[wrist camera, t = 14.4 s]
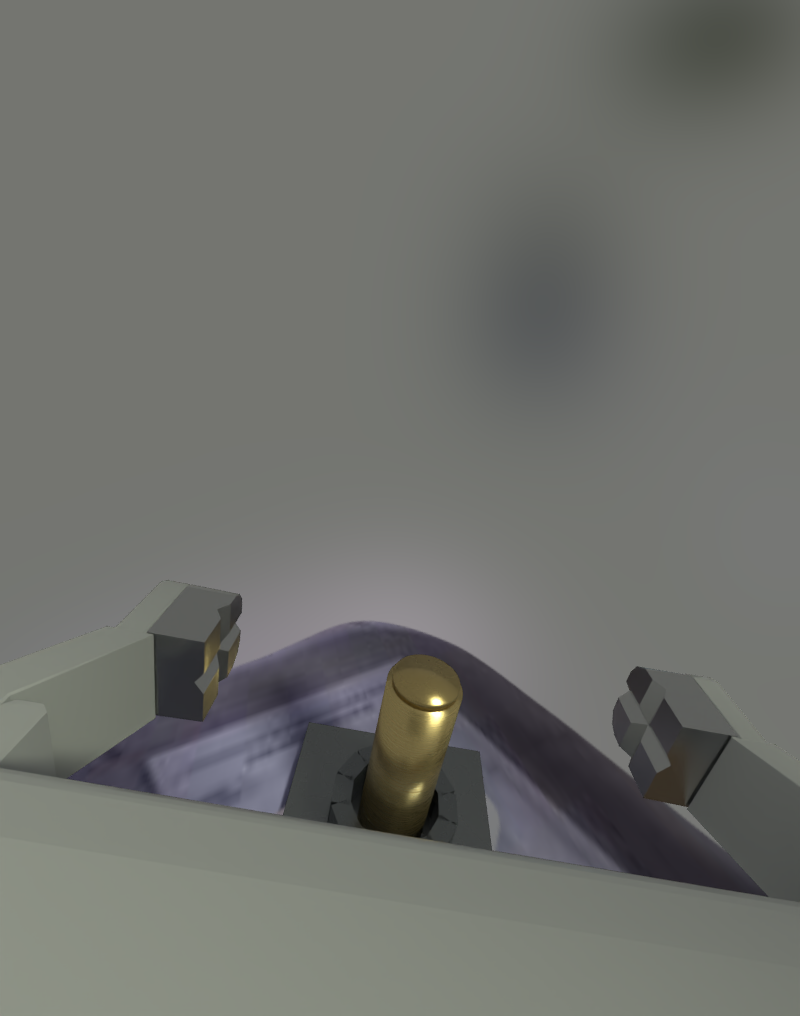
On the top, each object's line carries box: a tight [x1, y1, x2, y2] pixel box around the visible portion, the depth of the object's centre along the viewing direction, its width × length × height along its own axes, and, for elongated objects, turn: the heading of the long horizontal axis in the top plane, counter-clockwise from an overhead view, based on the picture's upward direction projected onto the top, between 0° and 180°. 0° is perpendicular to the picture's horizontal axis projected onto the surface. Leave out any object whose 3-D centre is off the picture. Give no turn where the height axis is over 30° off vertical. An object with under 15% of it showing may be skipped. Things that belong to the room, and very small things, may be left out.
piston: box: [357, 655, 463, 838], centre depth 33 cm, size 5×5×15 cm
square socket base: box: [283, 722, 492, 850], centre depth 35 cm, size 16×16×4 cm
